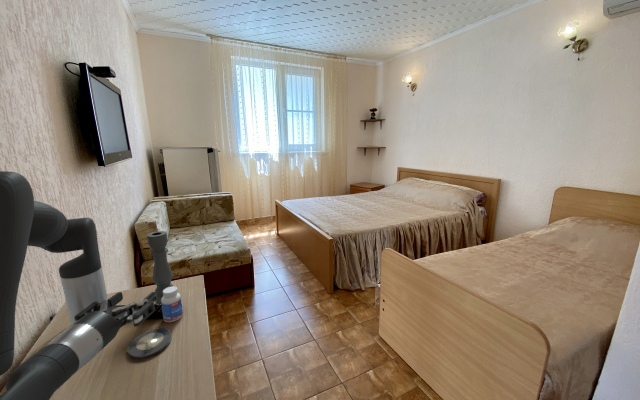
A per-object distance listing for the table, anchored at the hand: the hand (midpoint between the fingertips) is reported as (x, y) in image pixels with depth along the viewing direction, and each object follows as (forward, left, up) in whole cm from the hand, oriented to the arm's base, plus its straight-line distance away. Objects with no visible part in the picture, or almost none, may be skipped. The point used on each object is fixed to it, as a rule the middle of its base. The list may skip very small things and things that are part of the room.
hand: (137, 295), depth 66 cm
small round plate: (-1, +2, -16) cm, 17 cm away
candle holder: (-15, +19, -17) cm, 29 cm away
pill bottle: (-5, +13, -17) cm, 22 cm away
